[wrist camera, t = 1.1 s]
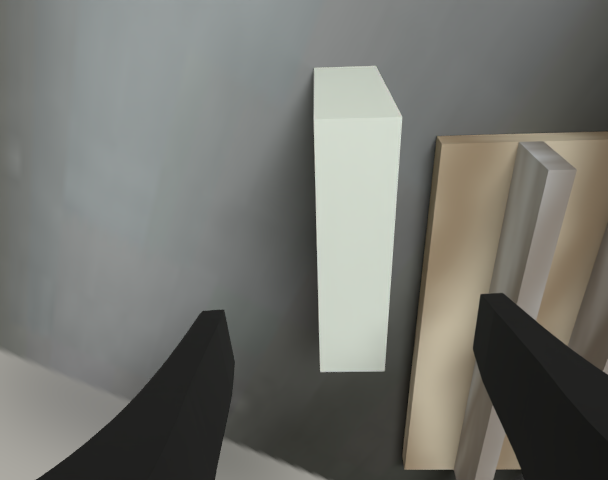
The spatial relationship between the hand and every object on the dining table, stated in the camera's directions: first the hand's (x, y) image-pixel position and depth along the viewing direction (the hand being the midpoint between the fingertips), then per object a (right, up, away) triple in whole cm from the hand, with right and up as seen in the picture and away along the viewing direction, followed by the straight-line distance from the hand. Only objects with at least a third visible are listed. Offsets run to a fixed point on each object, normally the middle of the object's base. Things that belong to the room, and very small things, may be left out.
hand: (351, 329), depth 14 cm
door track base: (+11, -2, +13) cm, 17 cm away
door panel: (+1, +5, +9) cm, 10 cm away
